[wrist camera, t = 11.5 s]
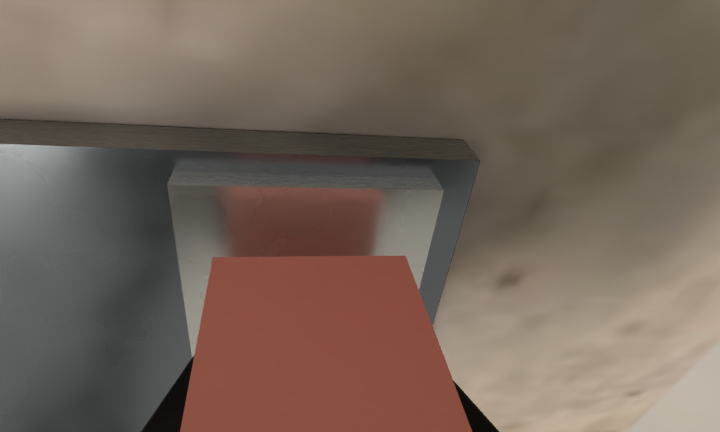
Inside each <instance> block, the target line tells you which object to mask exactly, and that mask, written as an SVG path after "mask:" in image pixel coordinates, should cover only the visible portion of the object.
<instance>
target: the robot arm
mask: <svg viewBox="0 0 720 432" xmlns="http://www.w3.org/2000/svg"><path fill="white" fill-rule="evenodd" d="M193 360H194V356H193V357H192V358H191V359H190V360H189V362H188V363H187V365H186V366H185V368H184V369H183V371H182V372H181V374H180V375H179V376H178V378H177V379H176V381H175V382H174V384H173V385H172V387H171V388H170V390H169V391H168V393H167V394H166V395H165V397H164V398H163V400H162V401H161V403H160V404H159V406H158V407H157V409H156V410H155V411H154V413H153V414H152V416H151V417H150V419H149V420H148V422H147V423H146V425H145V426H144V428H143V429H142V430H141V432H180V429H181V424H182V419H183V413H184V408H185V403H186V397H187V392H188V387H189V381H190V376H191V371H192V365H193ZM453 382H454V381H453ZM454 385H455V387H456V390H457V393H458V395H459V398H460V401H461V403H462V406H463V408H464V411H465V414H466V416H467V419H468V422H469V424H470V427H471V430H472V432H499V431H498V430H497V429H496V428H495V426H494V425H493V424H492V423H491V422H490V421H489V420H488V419H487V417H486V416H485V415H484V414H483V413H482V412H481V411H480V410H479V409H478V407H477V406H476V405H475V404H474V403H473V402H472V401H471V400H470V398H469V397H468V396H467V395H466V394H465V393H464V392H463V391H462V390H461V388H460V387H459V386H458V385H457V384H456V383H455V382H454Z"/></svg>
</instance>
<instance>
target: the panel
mask: <svg viewBox="0 0 720 432" xmlns="http://www.w3.org/2000/svg"><path fill="white" fill-rule="evenodd" d="M479 163H480V160H479V159H478V158H477V156H476V155H475V154H474V153H473V151H472V150H471V149H470V148H469V147H468V145H467V144H466V143H465V142H464V141H463V140H454V139H431V138H408V137H386V136H363V135H341V134H318V133H296V132H273V131H250V130H228V129H205V128H183V127H160V126H138V125H115V124H92V123H70V122H47V121H25V120H2V119H0V432H141V430H142V429H143V428H144V426H145V425H146V423H147V422H148V420H149V419H150V417H151V416H152V414H153V413H154V411H155V410H156V409H157V407H158V406H159V404H160V403H161V401H162V400H163V398H164V397H165V395H166V394H167V393H168V391H169V390H170V388H171V387H172V385H173V384H174V382H175V381H176V379H177V378H178V376H179V375H180V374H181V372H182V371H183V369H184V368H185V366H186V365H187V363H188V362H189V360H190V359H191V358H192V357H193V356H194V354H195V349H196V344H197V338H198V333H199V328H200V322H201V317H202V312H203V306H204V301H205V295H206V290H207V285H208V279H209V274H210V269H211V263H212V258H213V257H289V256H406V258H407V261H408V263H409V266H410V269H411V271H412V274H413V277H414V279H415V282H416V284H417V287H418V290H419V292H420V295H421V298H422V300H423V303H424V306H425V308H426V311H427V313H428V316H429V319H430V321H431V324H432V325H433V321H434V318H435V314H436V311H437V307H438V304H439V300H440V297H441V294H442V290H443V287H444V283H445V280H446V276H447V273H448V270H449V266H450V263H451V259H452V256H453V252H454V249H455V245H456V242H457V239H458V235H459V232H460V228H461V225H462V221H463V218H464V214H465V211H466V208H467V204H468V201H469V197H470V194H471V190H472V187H473V184H474V180H475V177H476V173H477V170H478V166H479Z"/></svg>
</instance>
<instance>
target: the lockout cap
mask: <svg viewBox="0 0 720 432" xmlns="http://www.w3.org/2000/svg"><path fill="white" fill-rule="evenodd" d="M180 432H472V430H471V427H470V424H469V422H468V419H467V416H466V414H465V411H464V408H463V406H462V403H461V401H460V398H459V395H458V393H457V390H456V387H455V385H454V382H453V379H452V377H451V374H450V372H449V369H448V366H447V364H446V361H445V358H444V356H443V353H442V350H441V348H440V345H439V343H438V340H437V337H436V335H435V332H434V329H433V327H432V324H431V321H430V319H429V316H428V313H427V311H426V308H425V306H424V303H423V300H422V298H421V295H420V292H419V290H418V287H417V284H416V282H415V279H414V277H413V274H412V271H411V269H410V266H409V263H408V261H407V258H406V256H289V257H213V258H212V263H211V269H210V274H209V279H208V285H207V290H206V295H205V301H204V306H203V312H202V317H201V322H200V328H199V333H198V338H197V344H196V349H195V354H194V360H193V365H192V371H191V376H190V381H189V387H188V392H187V397H186V403H185V408H184V413H183V419H182V424H181V429H180Z"/></svg>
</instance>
